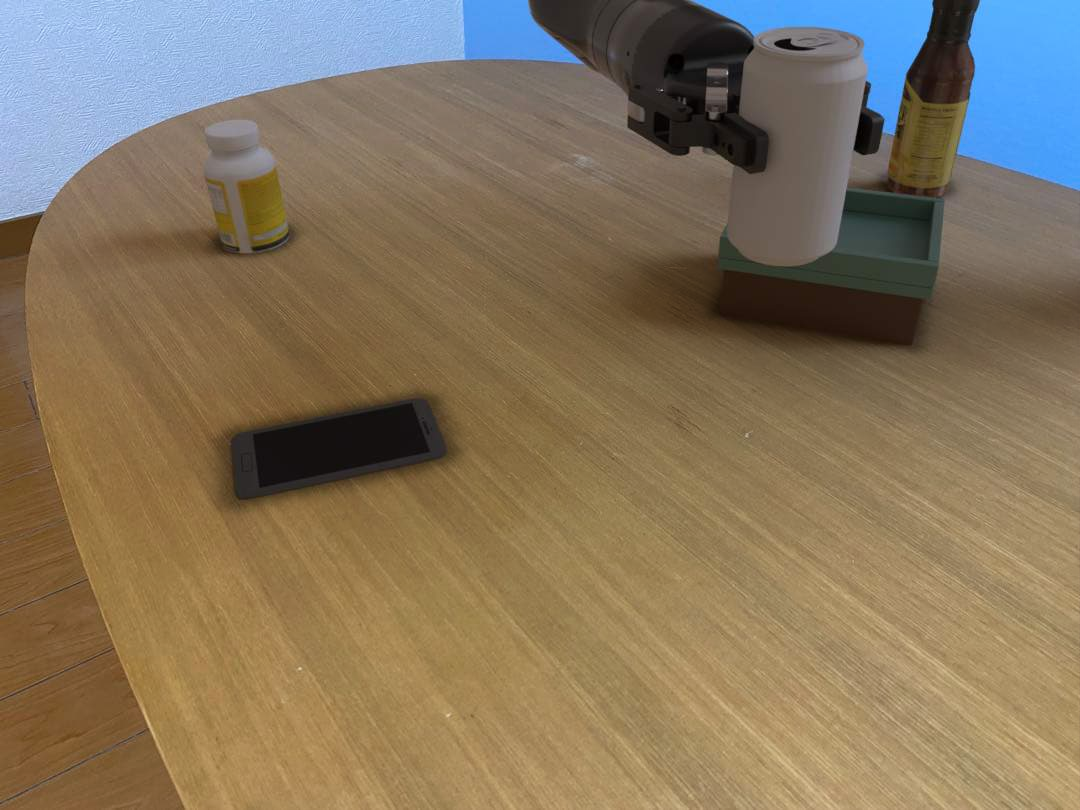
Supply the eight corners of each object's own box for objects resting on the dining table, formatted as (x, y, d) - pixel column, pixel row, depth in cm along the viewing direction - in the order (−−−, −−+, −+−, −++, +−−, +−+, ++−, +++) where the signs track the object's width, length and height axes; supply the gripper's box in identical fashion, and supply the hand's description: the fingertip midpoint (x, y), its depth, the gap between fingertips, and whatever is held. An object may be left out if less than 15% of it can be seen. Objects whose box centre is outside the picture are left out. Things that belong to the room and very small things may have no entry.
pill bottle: (303, 236, 93) (282, 120, 86) (264, 264, 88) (238, 143, 81) (249, 227, 95) (224, 113, 88) (208, 254, 90) (178, 135, 83)
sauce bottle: (895, 175, 102) (935, -22, 90) (954, 188, 99) (1004, -15, 87) (874, 196, 98) (913, -8, 86) (935, 209, 95) (984, -1, 83)
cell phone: (231, 442, 65) (229, 433, 65) (427, 403, 69) (426, 395, 68) (237, 509, 60) (235, 500, 59) (451, 463, 63) (450, 454, 62)
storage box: (925, 282, 82) (945, 198, 78) (916, 357, 72) (938, 266, 68) (742, 256, 87) (751, 175, 83) (711, 323, 77) (719, 236, 73)
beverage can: (705, 237, 57) (722, 32, 50) (792, 216, 59) (820, 16, 52) (765, 282, 52) (794, 62, 45) (858, 258, 54) (899, 44, 47)
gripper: (580, 16, 59) (704, 93, 46) (782, -7, 62) (949, 58, 50) (580, 133, 63) (693, 233, 50) (768, 105, 67) (919, 192, 54)
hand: (819, 146), depth 50 cm, fingers closed on beverage can, 6 cm apart
